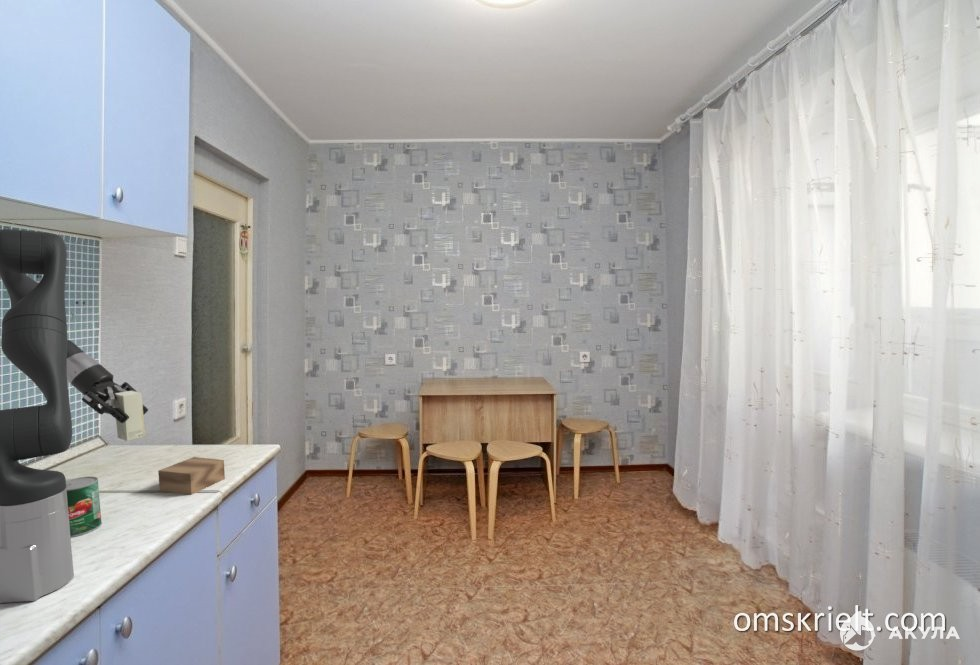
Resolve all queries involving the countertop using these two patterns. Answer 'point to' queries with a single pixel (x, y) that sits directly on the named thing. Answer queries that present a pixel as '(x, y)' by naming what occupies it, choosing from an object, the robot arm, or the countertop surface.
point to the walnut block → (191, 475)
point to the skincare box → (130, 415)
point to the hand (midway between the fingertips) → (135, 416)
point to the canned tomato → (83, 505)
